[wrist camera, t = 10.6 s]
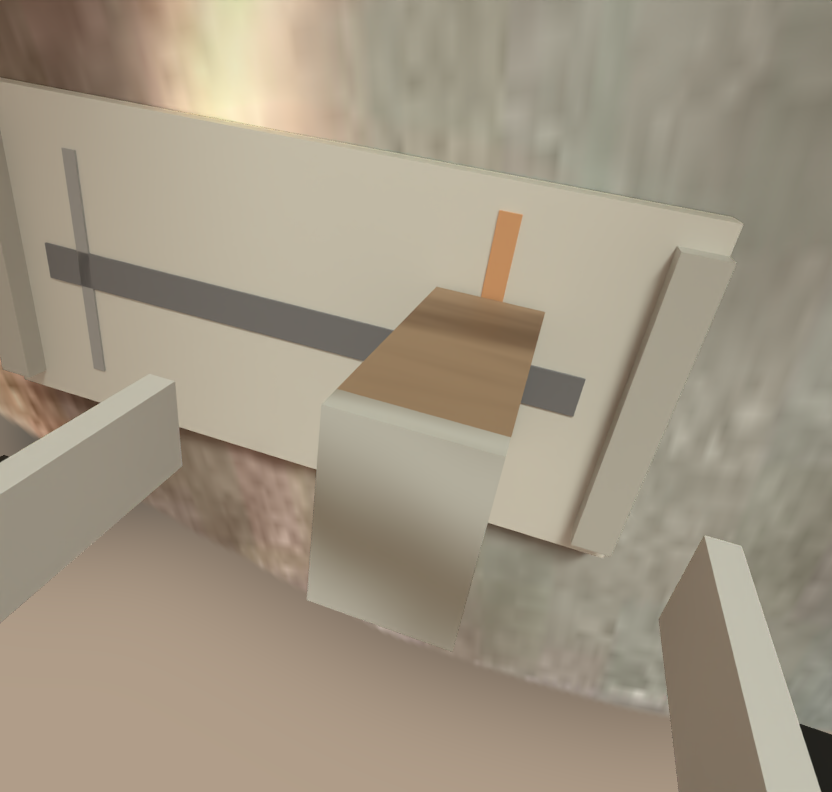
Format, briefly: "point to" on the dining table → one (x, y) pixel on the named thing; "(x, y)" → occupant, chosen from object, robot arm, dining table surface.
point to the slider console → (343, 287)
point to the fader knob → (418, 464)
